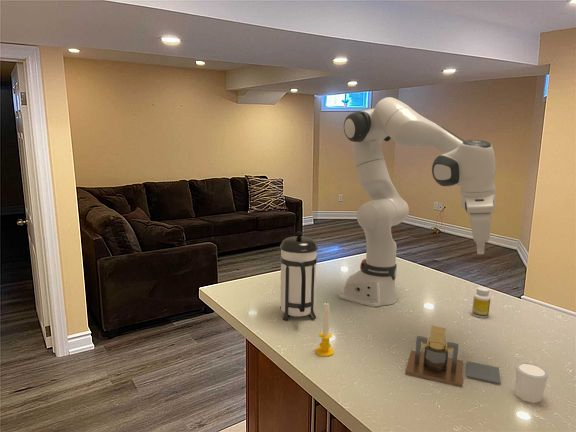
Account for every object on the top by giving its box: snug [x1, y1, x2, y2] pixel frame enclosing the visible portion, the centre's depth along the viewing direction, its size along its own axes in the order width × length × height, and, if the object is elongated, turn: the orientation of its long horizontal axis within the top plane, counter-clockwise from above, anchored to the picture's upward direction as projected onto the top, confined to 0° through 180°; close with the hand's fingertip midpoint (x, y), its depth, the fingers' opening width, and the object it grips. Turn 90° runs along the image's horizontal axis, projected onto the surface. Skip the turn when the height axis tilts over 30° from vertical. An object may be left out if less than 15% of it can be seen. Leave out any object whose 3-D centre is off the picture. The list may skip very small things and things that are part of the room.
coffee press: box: [279, 230, 319, 322], centre depth 144 cm, size 17×16×30 cm
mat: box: [466, 360, 501, 386], centre depth 113 cm, size 8×8×1 cm
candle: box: [315, 301, 335, 358], centre depth 121 cm, size 5×5×16 cm
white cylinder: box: [515, 362, 549, 404], centre depth 103 cm, size 7×7×7 cm
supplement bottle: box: [471, 286, 491, 319], centre depth 149 cm, size 5×5×10 cm
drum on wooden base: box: [405, 335, 464, 388], centre depth 114 cm, size 14×12×8 cm
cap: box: [421, 325, 453, 353], centre depth 113 cm, size 8×4×6 cm, turn 67°
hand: (479, 248), depth 119 cm, fingers open, 8 cm apart
